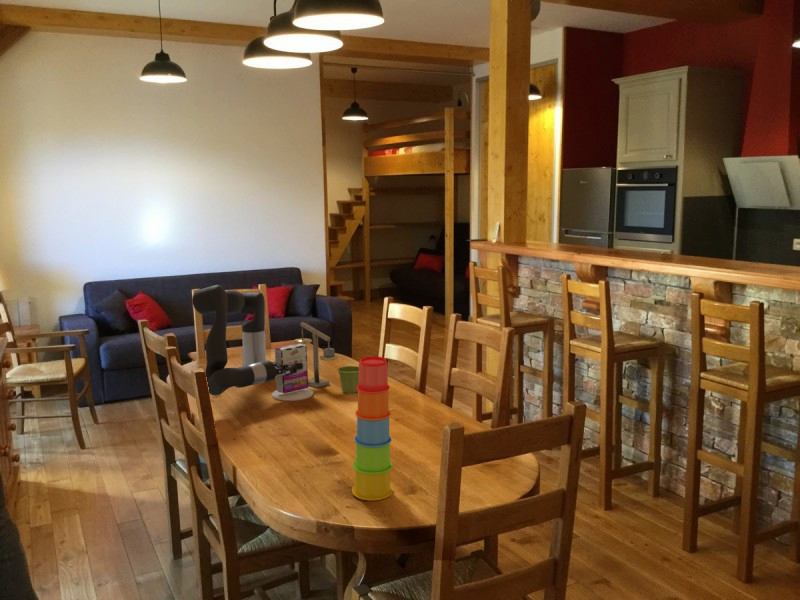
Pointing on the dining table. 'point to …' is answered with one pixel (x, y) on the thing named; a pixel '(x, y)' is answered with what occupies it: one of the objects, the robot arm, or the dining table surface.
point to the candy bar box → (290, 357)
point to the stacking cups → (372, 432)
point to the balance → (327, 354)
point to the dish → (293, 395)
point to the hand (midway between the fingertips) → (297, 364)
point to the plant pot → (349, 378)
